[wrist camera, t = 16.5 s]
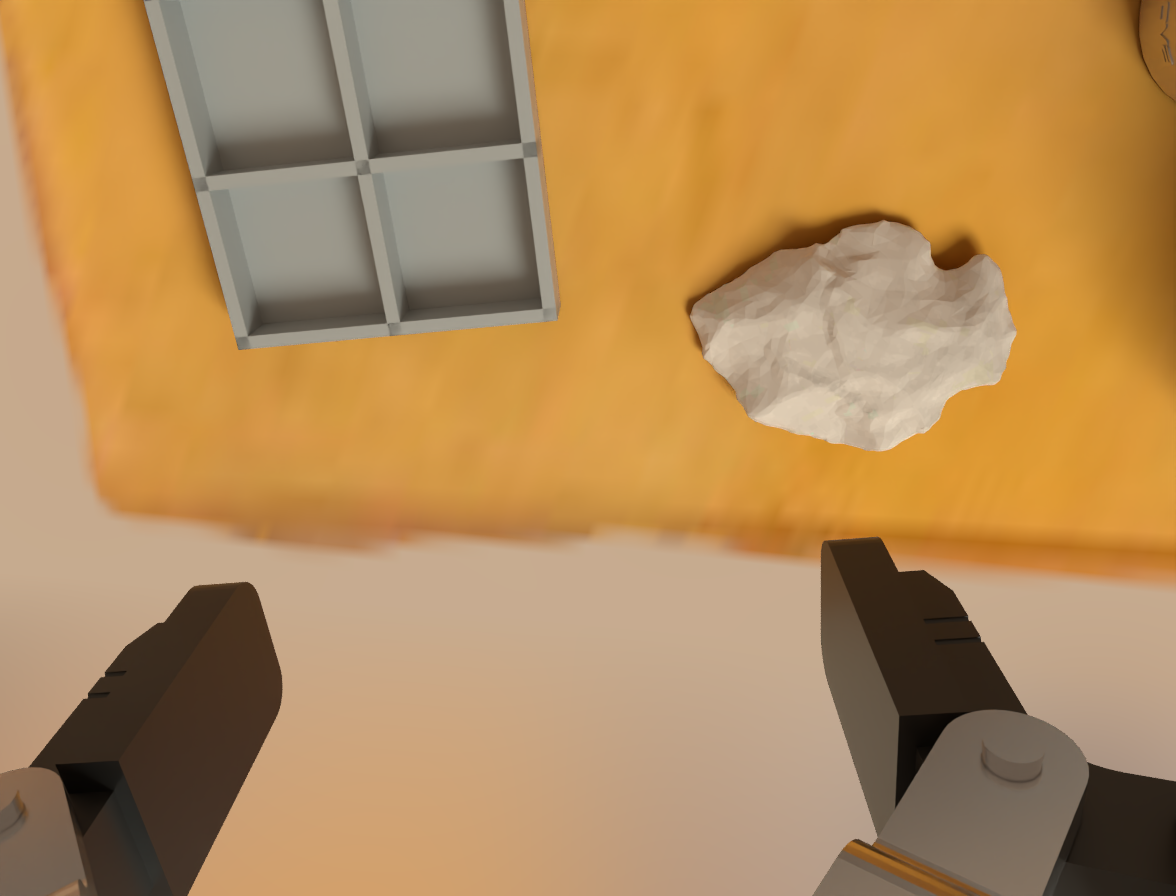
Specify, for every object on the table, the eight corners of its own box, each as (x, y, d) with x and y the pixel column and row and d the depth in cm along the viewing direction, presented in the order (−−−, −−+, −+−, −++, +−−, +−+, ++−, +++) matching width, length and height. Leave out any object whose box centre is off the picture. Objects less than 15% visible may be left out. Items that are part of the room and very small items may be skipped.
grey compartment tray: (492, -269, 35) (483, -291, 32) (560, 305, 44) (557, 320, 42) (115, -217, 36) (79, -235, 33) (258, 333, 45) (238, 349, 43)
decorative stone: (1018, 217, 42) (691, 220, 44) (1047, 220, 39) (690, 223, 40) (993, 443, 45) (688, 437, 47) (1017, 466, 42) (686, 458, 43)
